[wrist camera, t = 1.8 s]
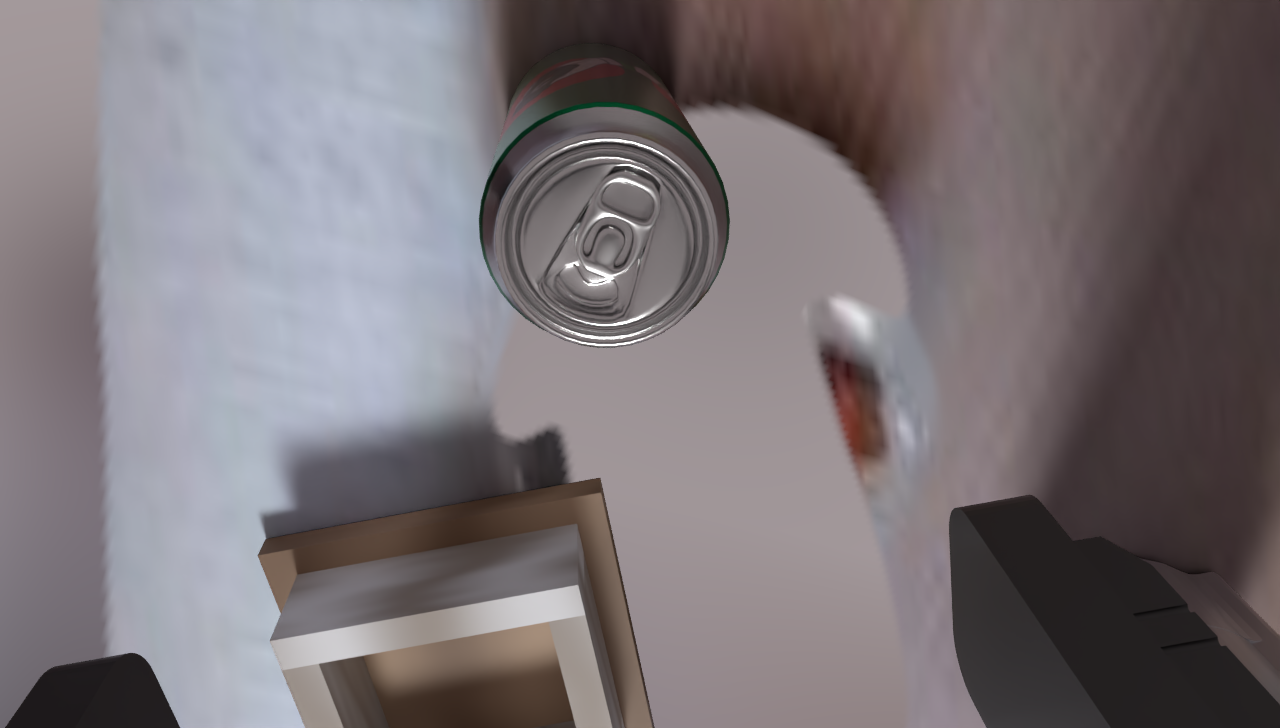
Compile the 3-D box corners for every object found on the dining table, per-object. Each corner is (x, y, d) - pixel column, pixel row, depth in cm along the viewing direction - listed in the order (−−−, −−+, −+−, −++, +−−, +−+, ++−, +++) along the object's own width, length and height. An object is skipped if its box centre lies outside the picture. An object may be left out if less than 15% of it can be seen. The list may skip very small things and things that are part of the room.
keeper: (600, 477, 35) (604, 551, 31) (655, 731, 40) (665, 824, 36) (265, 538, 35) (225, 620, 31) (362, 784, 40) (338, 883, 36)
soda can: (483, 172, 30) (436, 313, 19) (545, 11, 28) (532, 66, 17) (634, 234, 31) (672, 400, 20) (702, 83, 30) (783, 176, 19)
